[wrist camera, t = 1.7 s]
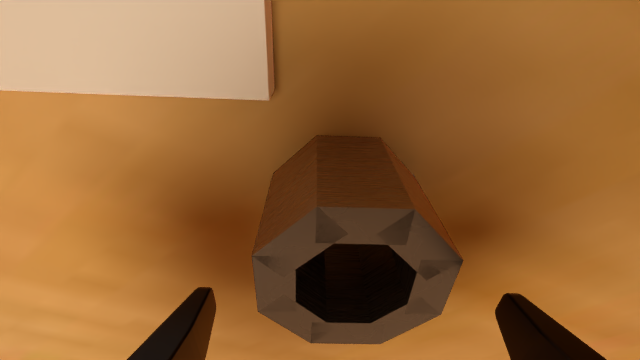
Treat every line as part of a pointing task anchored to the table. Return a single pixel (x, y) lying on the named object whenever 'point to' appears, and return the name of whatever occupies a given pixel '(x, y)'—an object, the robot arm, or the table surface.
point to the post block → (138, 47)
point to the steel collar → (350, 245)
